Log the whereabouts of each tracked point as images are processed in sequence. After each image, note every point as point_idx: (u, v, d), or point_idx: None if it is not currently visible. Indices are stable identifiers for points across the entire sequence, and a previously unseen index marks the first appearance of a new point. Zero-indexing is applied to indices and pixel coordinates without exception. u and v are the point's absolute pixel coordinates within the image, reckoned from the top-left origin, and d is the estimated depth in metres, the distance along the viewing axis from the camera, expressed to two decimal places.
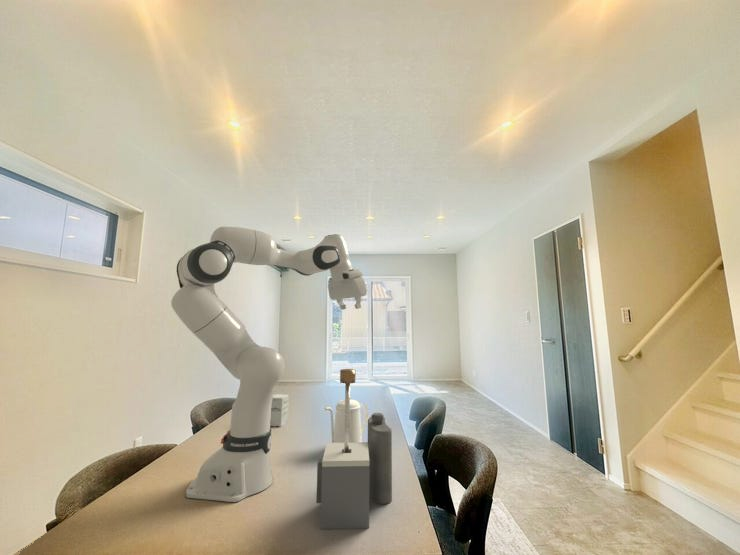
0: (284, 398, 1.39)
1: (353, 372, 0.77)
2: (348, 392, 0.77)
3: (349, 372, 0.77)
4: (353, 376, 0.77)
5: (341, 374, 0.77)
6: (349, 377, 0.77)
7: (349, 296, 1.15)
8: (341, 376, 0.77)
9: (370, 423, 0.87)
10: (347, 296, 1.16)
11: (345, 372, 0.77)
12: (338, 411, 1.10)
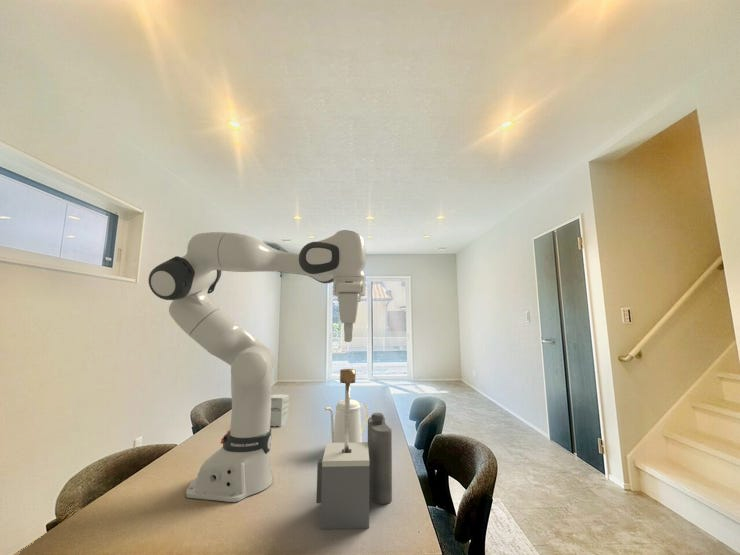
0: (284, 398, 1.39)
1: (353, 372, 0.77)
2: (348, 392, 0.77)
3: (349, 372, 0.77)
4: (353, 376, 0.77)
5: (341, 374, 0.77)
6: (349, 377, 0.77)
7: None
8: (341, 376, 0.77)
9: (370, 423, 0.87)
10: None
11: (345, 372, 0.77)
12: (338, 411, 1.10)
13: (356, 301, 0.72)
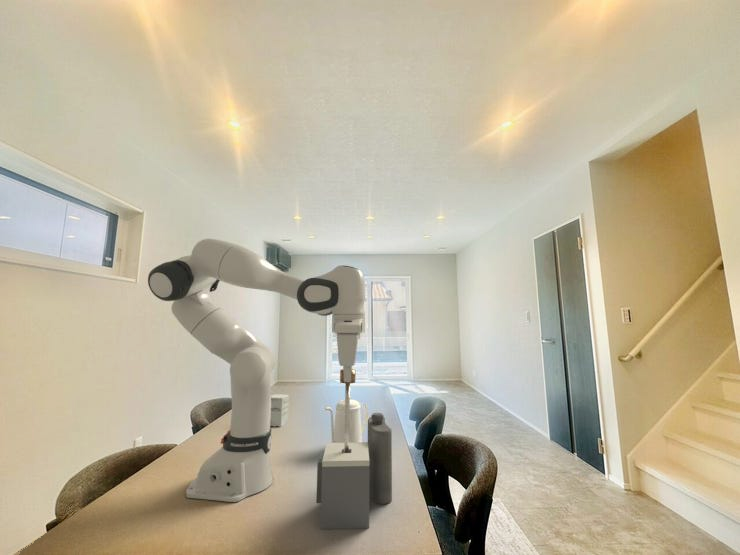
0: (284, 398, 1.39)
1: (353, 372, 0.77)
2: (348, 392, 0.77)
3: None
4: (353, 376, 0.77)
5: (341, 374, 0.77)
6: None
7: None
8: (341, 376, 0.77)
9: (370, 423, 0.87)
10: None
11: None
12: (338, 411, 1.10)
13: (355, 343, 0.70)
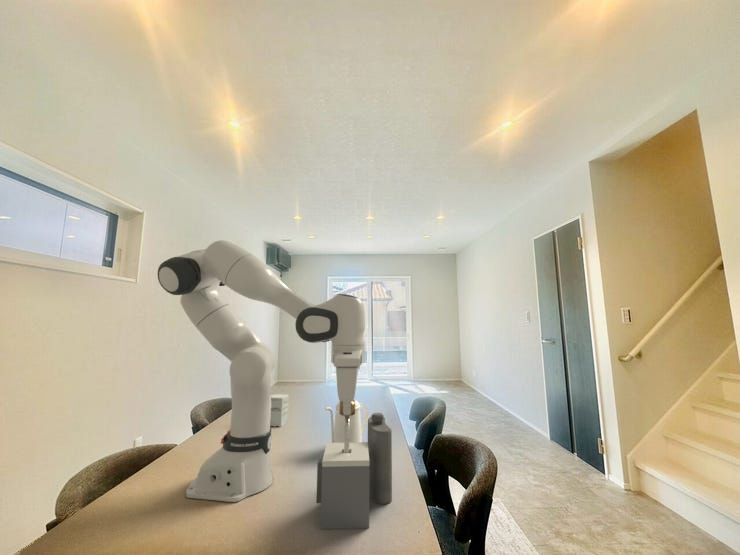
0: (284, 398, 1.39)
1: (353, 404, 0.76)
2: (348, 424, 0.76)
3: None
4: (353, 407, 0.76)
5: (340, 406, 0.76)
6: None
7: None
8: (340, 408, 0.76)
9: (370, 423, 0.87)
10: None
11: None
12: (338, 411, 1.10)
13: (355, 378, 0.69)
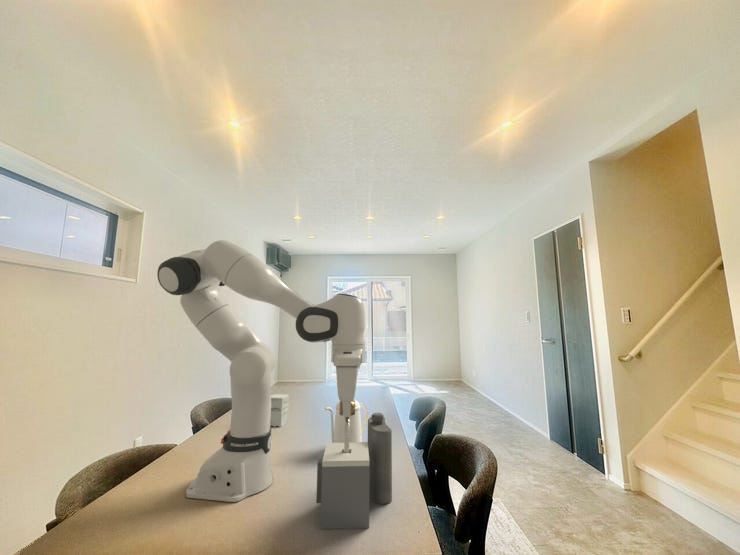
0: (284, 398, 1.39)
1: (353, 404, 0.76)
2: (348, 424, 0.76)
3: None
4: (353, 408, 0.76)
5: (340, 406, 0.76)
6: None
7: None
8: (340, 408, 0.76)
9: (370, 423, 0.87)
10: None
11: None
12: (338, 411, 1.10)
13: (355, 377, 0.69)
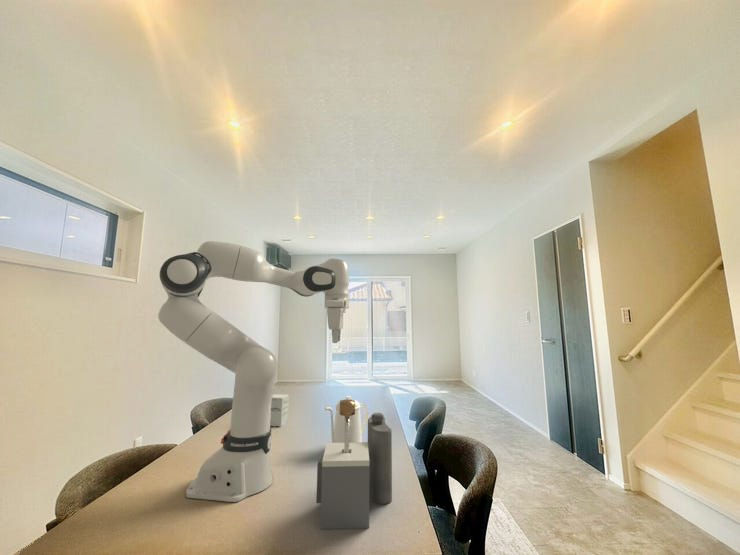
0: (284, 398, 1.39)
1: (353, 404, 0.76)
2: (348, 424, 0.76)
3: (349, 404, 0.76)
4: (353, 408, 0.76)
5: (340, 406, 0.76)
6: (348, 409, 0.75)
7: None
8: (340, 408, 0.76)
9: (370, 423, 0.87)
10: None
11: (344, 404, 0.75)
12: (338, 411, 1.10)
13: (340, 313, 1.00)
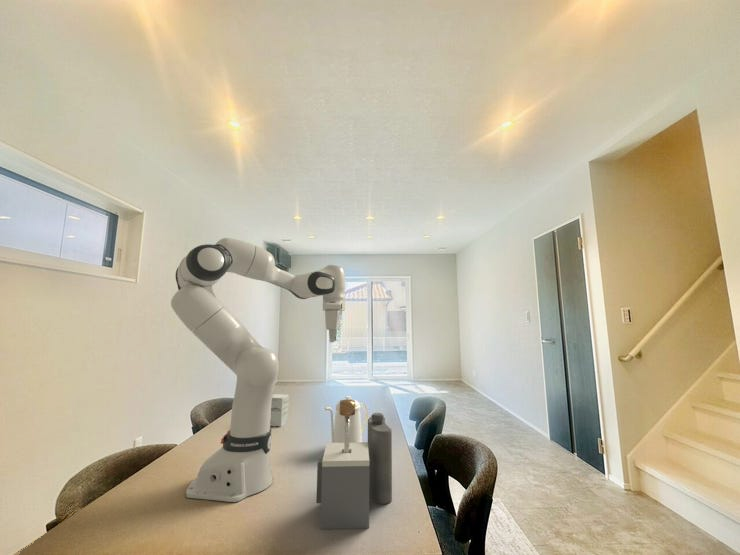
0: (284, 398, 1.39)
1: (353, 404, 0.76)
2: (348, 424, 0.76)
3: (349, 404, 0.76)
4: (353, 408, 0.76)
5: (340, 406, 0.76)
6: (348, 409, 0.75)
7: None
8: (340, 408, 0.76)
9: (370, 423, 0.87)
10: None
11: (344, 404, 0.75)
12: (338, 411, 1.10)
13: (337, 315, 1.10)
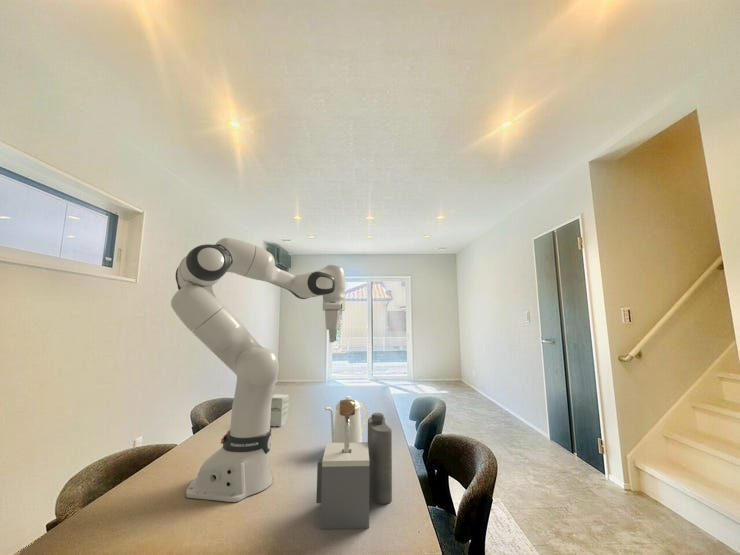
0: (284, 398, 1.39)
1: (353, 404, 0.76)
2: (348, 424, 0.76)
3: (349, 404, 0.76)
4: (353, 408, 0.76)
5: (340, 406, 0.76)
6: (348, 409, 0.75)
7: None
8: (340, 408, 0.76)
9: (370, 423, 0.87)
10: None
11: (344, 404, 0.75)
12: (338, 411, 1.10)
13: (337, 315, 1.10)
